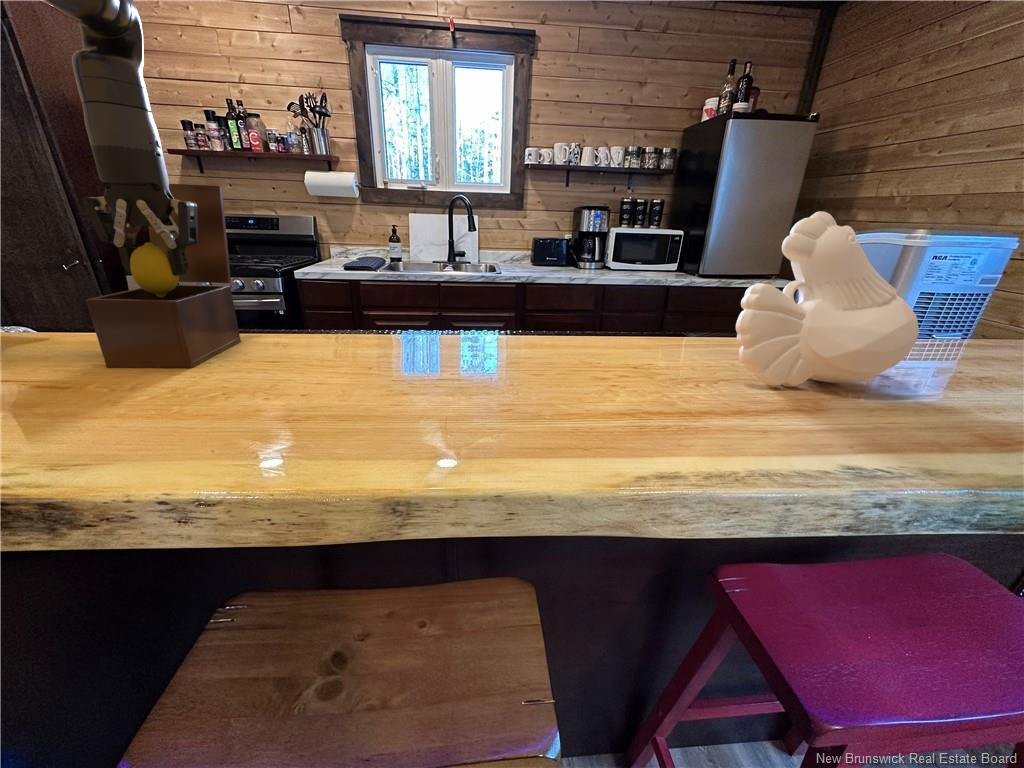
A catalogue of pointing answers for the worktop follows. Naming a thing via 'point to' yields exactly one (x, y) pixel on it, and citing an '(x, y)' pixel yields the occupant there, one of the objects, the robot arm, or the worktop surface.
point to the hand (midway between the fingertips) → (158, 273)
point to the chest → (164, 326)
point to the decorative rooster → (824, 313)
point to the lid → (202, 234)
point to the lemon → (153, 269)
